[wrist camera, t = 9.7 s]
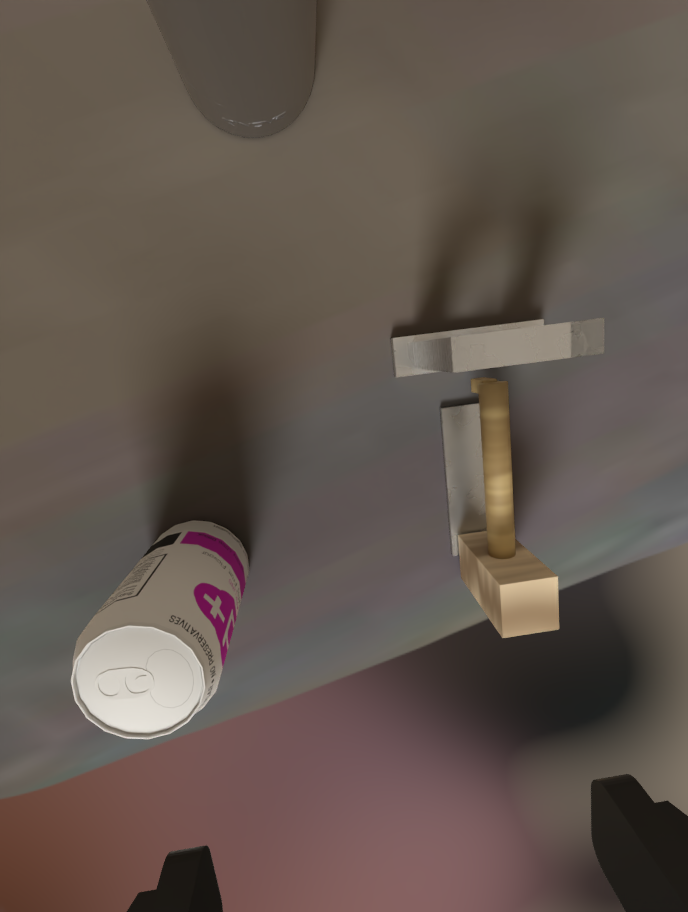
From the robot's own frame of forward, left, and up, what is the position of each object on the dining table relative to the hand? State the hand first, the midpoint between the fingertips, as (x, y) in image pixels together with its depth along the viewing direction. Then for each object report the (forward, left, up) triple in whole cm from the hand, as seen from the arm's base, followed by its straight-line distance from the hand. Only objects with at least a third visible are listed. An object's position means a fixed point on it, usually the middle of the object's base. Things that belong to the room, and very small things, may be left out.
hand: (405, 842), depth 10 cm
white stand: (-1, +12, -30) cm, 32 cm away
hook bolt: (+2, +12, -29) cm, 32 cm away
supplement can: (+6, -12, -30) cm, 33 cm away
